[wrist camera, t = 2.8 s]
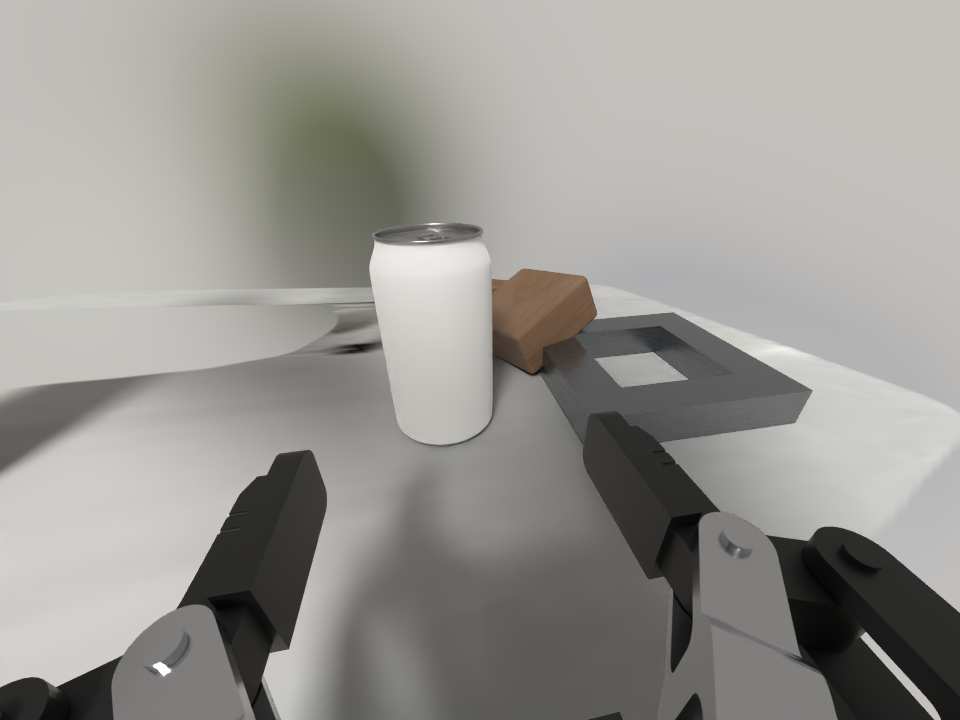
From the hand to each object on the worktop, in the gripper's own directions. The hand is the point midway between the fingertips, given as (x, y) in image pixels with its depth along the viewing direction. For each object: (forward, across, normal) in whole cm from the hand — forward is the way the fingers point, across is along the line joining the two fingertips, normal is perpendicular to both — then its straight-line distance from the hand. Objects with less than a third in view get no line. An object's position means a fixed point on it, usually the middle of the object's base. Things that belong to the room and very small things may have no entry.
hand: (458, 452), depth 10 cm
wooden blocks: (+24, -9, +8) cm, 27 cm away
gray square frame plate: (+13, -15, +7) cm, 21 cm away
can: (+11, 0, +8) cm, 14 cm away
